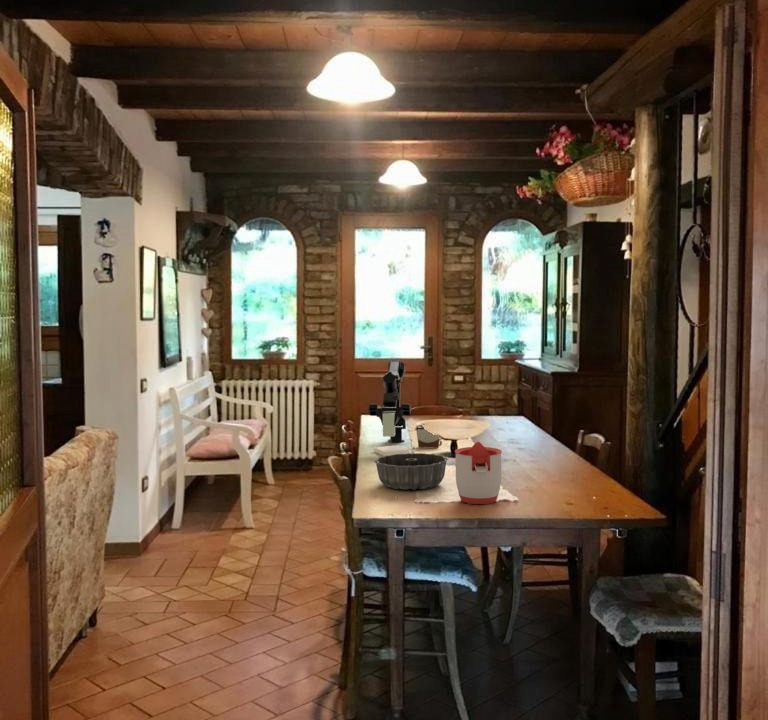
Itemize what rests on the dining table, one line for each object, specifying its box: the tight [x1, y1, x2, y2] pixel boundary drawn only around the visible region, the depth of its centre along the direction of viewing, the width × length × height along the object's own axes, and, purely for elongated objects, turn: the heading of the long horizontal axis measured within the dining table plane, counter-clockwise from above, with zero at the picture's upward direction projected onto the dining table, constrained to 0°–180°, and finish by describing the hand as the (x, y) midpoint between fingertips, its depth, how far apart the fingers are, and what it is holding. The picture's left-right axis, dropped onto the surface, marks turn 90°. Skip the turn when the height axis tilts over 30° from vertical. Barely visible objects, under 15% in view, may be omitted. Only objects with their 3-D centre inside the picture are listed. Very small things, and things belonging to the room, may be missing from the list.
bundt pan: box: [374, 452, 448, 491], centre depth 285 cm, size 26×26×10 cm
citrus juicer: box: [454, 441, 502, 505], centre depth 259 cm, size 16×17×20 cm
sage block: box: [382, 412, 396, 438], centre depth 349 cm, size 5×5×10 cm
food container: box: [414, 424, 441, 447], centre depth 366 cm, size 12×6×10 cm, turn 84°
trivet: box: [373, 444, 410, 457], centre depth 351 cm, size 12×12×2 cm
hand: (388, 424), depth 347 cm, fingers closed on sage block, 5 cm apart
